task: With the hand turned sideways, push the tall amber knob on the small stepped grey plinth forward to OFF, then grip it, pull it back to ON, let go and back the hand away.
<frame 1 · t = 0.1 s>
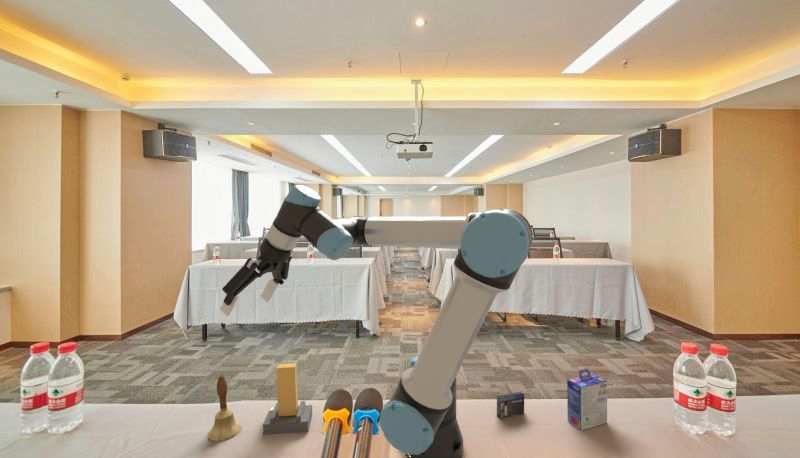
hand: (245, 305, 95), 36 cm above the table, tool tilted 35°, fingers open, 13 cm apart
stepped grey plinth: (288, 424, 102), on the table
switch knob: (287, 389, 101), point 10 cm above the table, slide at 0.0 cm
mini dv tape: (510, 415, 105), on the table
ink cartridge box: (586, 422, 101), on the table
hand bell: (225, 432, 99), on the table
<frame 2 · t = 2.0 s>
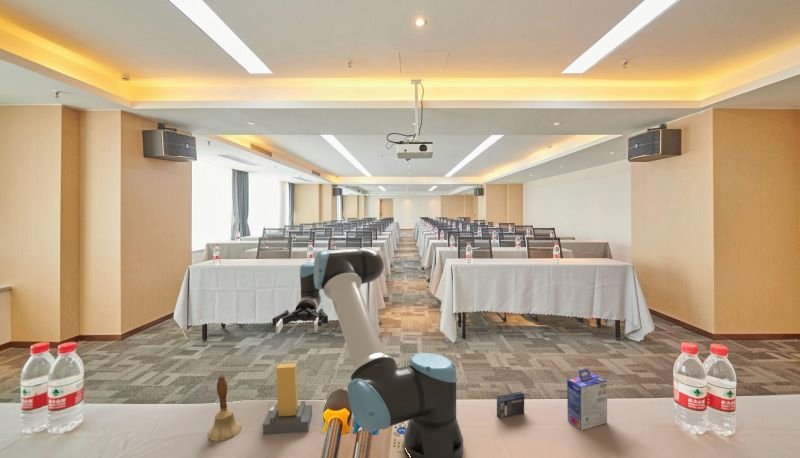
hand: (296, 328, 116), 22 cm above the table, tool horizontal, fingers open, 11 cm apart
nothing on the table moved.
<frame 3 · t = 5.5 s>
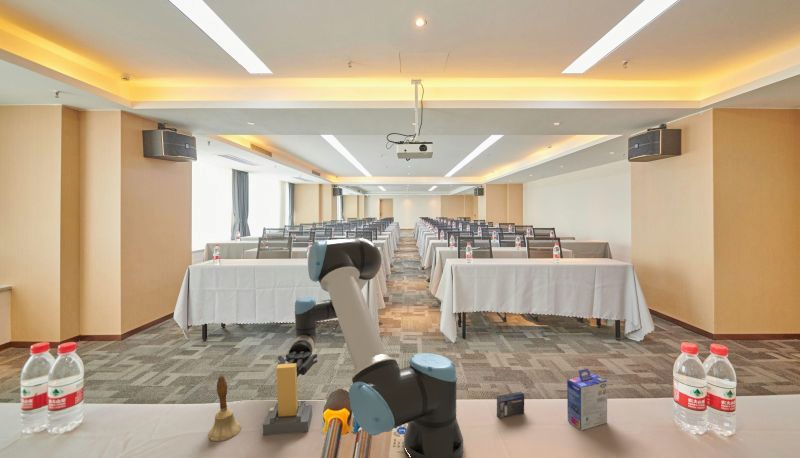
hand: (287, 383, 102), 11 cm above the table, tool horizontal, fingers closed
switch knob: (287, 389, 101), point 10 cm above the table, slide at 0.1 cm, touching gripper
everything else where it was.
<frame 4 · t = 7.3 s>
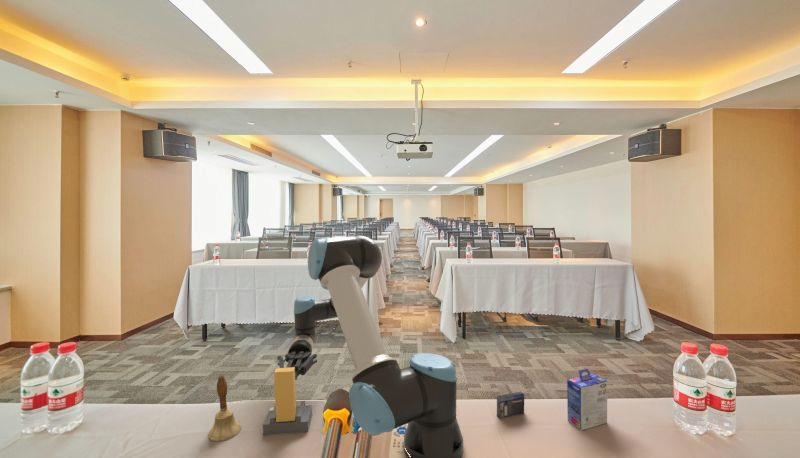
hand: (287, 384, 101), 12 cm above the table, tool horizontal, fingers closed
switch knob: (285, 394, 99), point 10 cm above the table, slide at 2.5 cm
everything else where it was.
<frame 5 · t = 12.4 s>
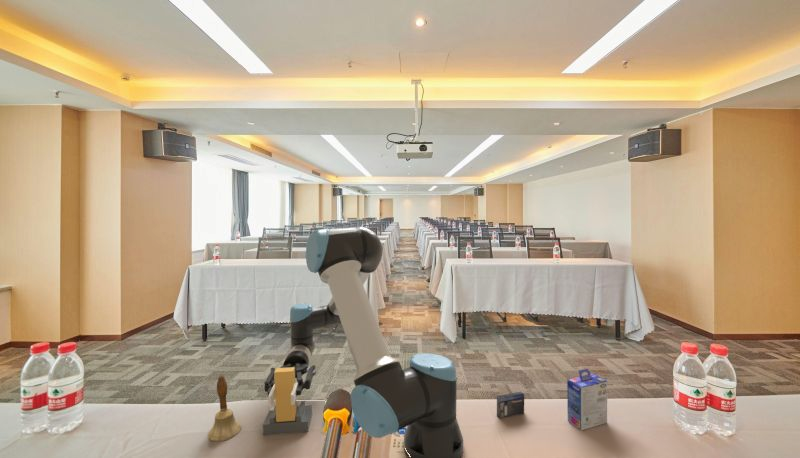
hand: (281, 400, 93), 11 cm above the table, tool horizontal, fingers closed on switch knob, 5 cm apart
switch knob: (285, 394, 99), point 10 cm above the table, slide at 2.5 cm, touching gripper
everything else where it was.
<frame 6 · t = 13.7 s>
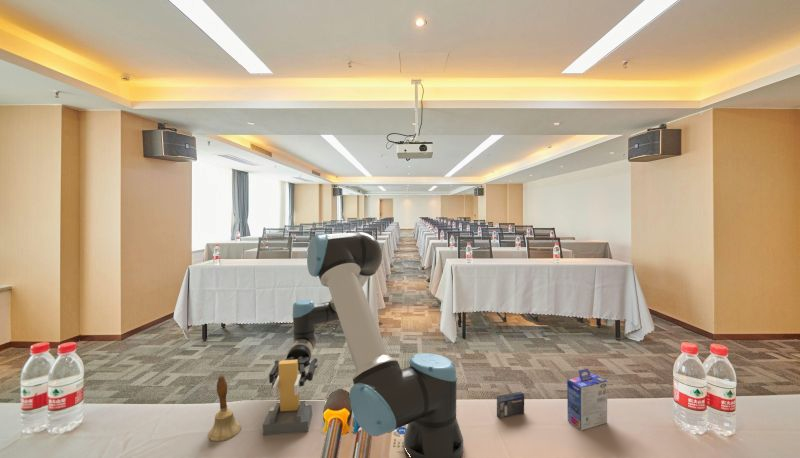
hand: (285, 390, 98), 11 cm above the table, tool horizontal, fingers closed on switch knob, 5 cm apart
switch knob: (289, 385, 103), point 10 cm above the table, slide at -2.4 cm, touching gripper
everything else where it was.
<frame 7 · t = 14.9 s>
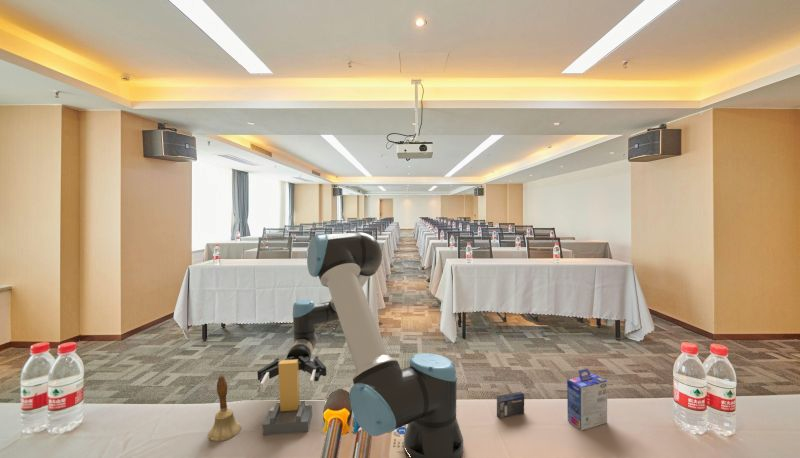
hand: (286, 386, 100), 12 cm above the table, tool horizontal, fingers open, 13 cm apart
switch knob: (289, 385, 104), point 10 cm above the table, slide at -2.5 cm
everything else where it was.
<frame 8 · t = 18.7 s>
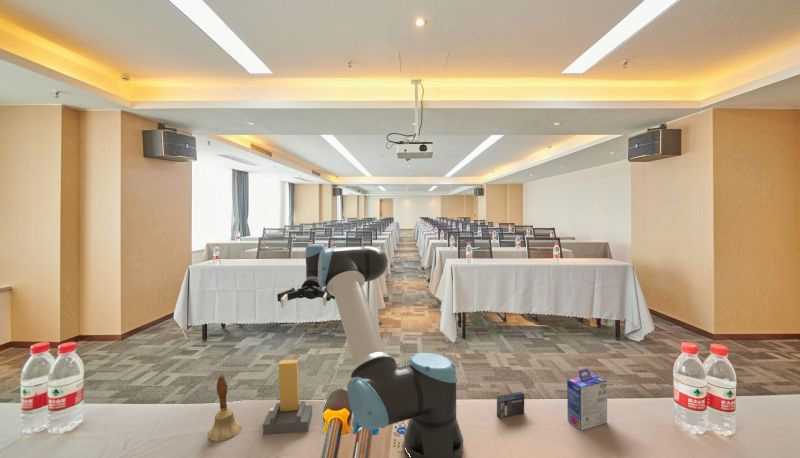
hand: (303, 302, 118), 30 cm above the table, tool horizontal, fingers open, 13 cm apart
nothing on the table moved.
at the end: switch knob slide at -2.5 cm; the gripper is holding nothing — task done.
